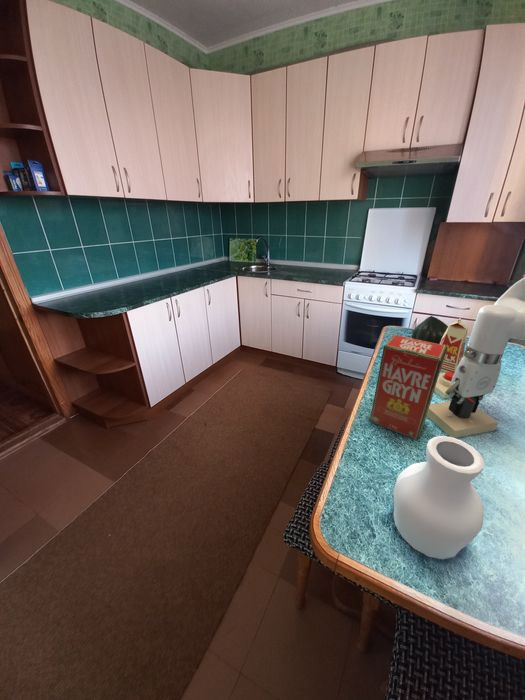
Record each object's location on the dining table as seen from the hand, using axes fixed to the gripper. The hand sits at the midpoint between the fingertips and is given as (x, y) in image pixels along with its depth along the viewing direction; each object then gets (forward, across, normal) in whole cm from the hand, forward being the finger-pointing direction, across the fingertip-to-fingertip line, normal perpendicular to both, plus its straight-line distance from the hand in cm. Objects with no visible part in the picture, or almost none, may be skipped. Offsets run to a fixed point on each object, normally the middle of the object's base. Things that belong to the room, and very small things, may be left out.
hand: (461, 410), depth 82 cm
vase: (+4, -30, -24) cm, 39 cm away
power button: (0, +10, +15) cm, 18 cm away
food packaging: (+4, -17, +4) cm, 18 cm away
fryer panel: (+4, 0, 0) cm, 4 cm away
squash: (+4, +24, +41) cm, 48 cm away
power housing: (+4, +10, +15) cm, 18 cm away
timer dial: (+1, 0, 0) cm, 1 cm away
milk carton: (+4, +20, +27) cm, 34 cm away
